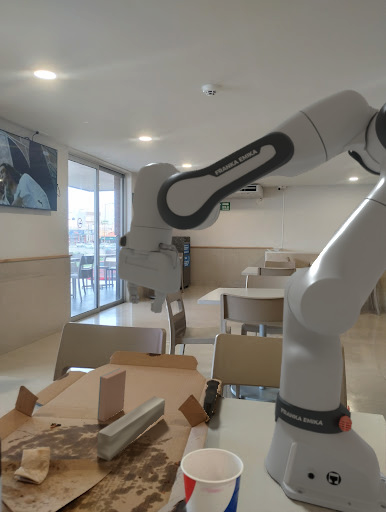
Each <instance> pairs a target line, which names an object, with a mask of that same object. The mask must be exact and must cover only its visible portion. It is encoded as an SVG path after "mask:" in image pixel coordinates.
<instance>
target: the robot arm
mask: <svg viewBox="0 0 386 512" xmlns="http://www.w3.org/2000/svg"><path fill="white" fill-rule="evenodd" d="M345 152H347V153H348V155H349V157H351V158H352V159H354V161H356V162H357V163H358V164H359V165H360V166H361V167H362V168H363V169H364V171H366V172H368V173H370V174H372V175H375V176H379V178H378V180H377V182H376V184H375V186H374V187H373V188H372V189H371V190H370V191H369V193H368V194H366V196H365V197H364V198H363V199H362V200H361V201H360V203H359V204H358V205H356V207H355V208H354V209H353V211H352V212H351V213H350V214H349V215H348V216H347V217H346V219H344V221H343V222H342V223H341V225H340V226H339V227H338V228H337V229H336V230H335V231H334V233H333V234H332V237H331V238H330V240H329V241H328V243H327V244H326V246H325V247H324V248H323V250H322V251H321V252H320V254H319V256H318V257H317V258H316V259H315V261H314V262H313V263H312V265H311V266H305V267H302V268H300V269H298V270H296V271H294V273H292V274H291V275H290V276H289V277H288V279H287V281H286V283H285V286H284V290H283V291H284V293H283V309H282V310H283V313H282V314H283V316H282V351H281V352H282V353H281V367H280V380H279V390H278V392H277V393H276V397H275V401H274V402H275V404H274V422H275V424H274V431H273V436H272V438H271V442H270V446H269V449H268V451H267V454H266V457H265V460H264V466H265V469H266V471H267V472H268V474H269V475H270V476H271V478H272V479H274V481H276V482H277V483H278V484H279V485H280V486H281V488H282V490H283V491H284V493H285V495H286V496H287V497H288V498H290V499H292V500H296V501H299V502H304V503H307V504H312V505H316V506H320V507H322V508H323V507H324V508H326V509H327V508H328V509H331V510H335V511H336V510H337V511H340V512H386V475H385V474H384V473H383V472H382V471H381V467H380V463H379V460H378V456H377V453H376V451H375V449H374V448H373V447H372V446H371V445H370V444H369V443H368V442H367V441H366V440H365V439H364V438H363V437H361V436H360V435H359V434H358V432H356V430H354V428H352V425H353V420H352V412H351V411H350V410H351V408H350V405H347V407H346V406H345V405H344V404H342V402H341V394H342V393H341V391H342V380H343V369H344V359H343V353H342V345H341V341H342V340H341V335H342V334H344V333H346V332H348V331H349V330H351V329H353V327H354V326H355V325H356V324H357V322H358V320H359V318H360V315H361V311H362V308H363V306H364V305H365V303H366V302H367V300H368V299H369V297H370V296H371V294H372V292H373V290H374V288H375V287H376V286H377V284H378V282H379V280H380V279H381V277H382V275H383V274H384V273H385V272H386V102H385V103H383V104H382V106H381V107H380V109H379V108H378V109H377V108H374V107H373V106H371V105H369V103H368V101H367V100H366V98H365V97H364V96H363V95H362V94H361V93H359V92H358V91H356V90H355V89H354V90H353V89H344V90H340V91H337V92H333V93H332V94H329V95H327V96H324V97H322V98H320V99H318V100H316V101H314V102H313V103H310V104H308V105H306V106H305V107H303V108H301V109H299V110H298V111H297V112H294V113H293V114H291V115H290V116H289V117H287V118H286V119H284V120H283V121H281V122H280V123H278V124H277V125H276V126H274V127H273V128H271V129H270V130H269V131H267V132H266V133H265V134H263V135H262V136H260V137H258V138H257V139H256V140H254V141H252V142H250V143H248V144H247V145H245V146H242V147H241V148H238V149H237V150H235V151H234V152H232V153H229V154H227V156H225V157H223V158H221V159H219V160H216V162H214V163H211V164H210V165H207V166H206V167H203V168H200V169H196V170H189V171H180V170H179V169H177V168H176V166H175V165H173V164H171V163H168V162H167V163H166V162H152V163H148V164H146V165H144V166H142V167H141V168H140V169H139V171H138V172H137V175H136V178H135V182H134V189H133V196H132V211H133V213H132V214H133V216H132V220H131V221H130V228H129V231H128V232H126V233H124V234H123V235H122V236H120V237H119V239H118V246H119V247H120V250H119V253H118V265H117V267H118V269H117V270H118V272H117V274H118V277H119V279H120V280H122V281H126V282H127V285H126V286H127V292H128V295H129V296H128V302H129V303H130V304H132V305H133V304H139V303H140V300H139V299H140V295H139V294H138V293H139V292H138V287H139V286H140V287H144V288H146V289H150V290H153V291H154V292H153V293H154V295H153V296H155V297H154V300H153V302H151V303H150V311H151V312H152V313H153V314H160V313H162V311H163V305H164V303H165V301H166V299H167V297H168V294H176V293H178V292H179V290H180V288H181V285H182V284H181V283H182V282H181V281H182V266H181V265H182V263H181V257H180V252H179V251H178V249H177V247H176V245H174V244H172V240H173V230H174V229H176V230H182V231H187V230H190V231H202V230H205V229H207V228H210V227H211V226H213V225H214V224H215V223H216V221H217V220H218V218H219V217H220V214H221V202H222V201H223V200H225V199H227V198H229V197H231V196H232V195H234V194H236V193H238V192H240V191H242V190H243V189H245V188H247V187H249V186H250V185H252V184H254V183H256V182H257V181H260V180H262V179H265V178H268V177H269V178H270V177H272V176H273V177H277V176H279V177H285V178H294V177H297V176H299V175H302V174H305V173H308V172H310V171H312V170H315V169H317V168H318V167H321V166H322V165H323V164H325V163H328V162H330V161H331V160H332V159H333V158H335V157H337V156H339V155H341V154H343V153H345Z"/></svg>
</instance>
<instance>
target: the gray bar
mask: <svg viewBox="0 0 386 512" xmlns="http://www.w3.org/2000/svg"><path fill="white" fill-rule="evenodd" d="M165 405H166V399H164V398H161V397H159V396H153V397H151V398H150V399H148V400H146V401H144V402H143V403H141V404H140V405H139V406H137V407H135V408H134V409H132V410H131V411H129V412H127V413H126V414H124V415H122V416H121V417H120V418H118V419H116V420H114V421H113V422H111V423H110V424H109V425H106V426H105V427H104V428H102V429H100V430H99V431H98V433H97V446H96V447H97V448H96V449H97V450H96V457H99V458H100V459H103V460H106V461H108V462H110V461H112V460H113V459H114V458H115V457H117V456H118V455H119V454H120V453H121V452H120V451H121V450H123V449H124V448H125V447H126V446H128V445H129V444H130V443H131V442H132V441H134V440H135V439H136V438H137V437H138V436H139V435H140V434H142V433H143V432H144V431H145V430H146V429H147V428H148V427H149V426H150V425H152V424H153V423H154V422H156V421H157V420H158V419H159V418H160V417H161V416H162V415H164V416H165ZM128 447H129V446H128ZM124 450H125V449H124ZM124 450H123V451H124ZM119 452H120V453H119ZM118 453H119V454H118ZM117 454H118V455H117ZM116 455H117V456H116ZM114 456H115V457H114ZM113 457H114V458H113ZM112 458H113V459H112Z"/></svg>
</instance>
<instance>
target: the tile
mask: <svg viewBox="0 0 386 512" xmlns="http://www.w3.org/2000/svg"><path fill="white" fill-rule="evenodd" d="M126 376H127V369H122V368H117V369H115V370H112V371H110V372H108V373H106V374H103V375H101V376H100V377H99V388H98V389H99V391H98V403H97V404H98V405H97V406H98V407H97V420H98V421H102V422H103V423H104V422H107V421H108V420H110V419H111V418H113V417H114V416H113V415H115V414H116V413H118V412H119V411H121V410H122V409H123V410H124V409H125V408H124V407H125V392H126ZM118 414H119V413H118ZM112 416H113V417H112ZM115 416H116V415H115ZM110 417H111V418H110ZM109 418H110V419H109Z"/></svg>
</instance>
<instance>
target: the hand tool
mask: <svg viewBox="0 0 386 512" xmlns="http://www.w3.org/2000/svg"><path fill="white" fill-rule="evenodd" d="M206 384H207V385H208V387H207V386H206V389H205V390H204V392H205V396H204V398H203V399H204V400H203V406H202V409H203V408H204V410H205V412H206V413H207V415H208V416H209V418H210V420H211V419H212V417H213V415H214V413H213V414H212V411H213V412H214V410H213V409H215V406H214V404H215V405H216V403H215V399H216V395H217V396H218V394H217V389H218V385H219V384H220V385H221V383H220V381H218V380H214V379H210V380H207V381H206ZM206 384H205V385H206ZM216 400H217V399H216Z"/></svg>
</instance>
